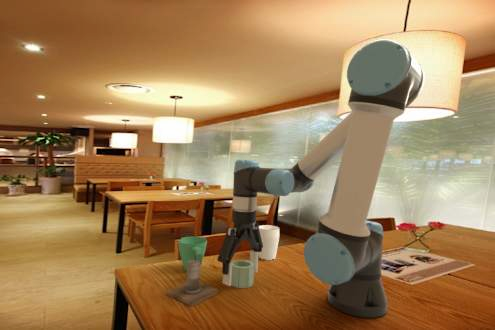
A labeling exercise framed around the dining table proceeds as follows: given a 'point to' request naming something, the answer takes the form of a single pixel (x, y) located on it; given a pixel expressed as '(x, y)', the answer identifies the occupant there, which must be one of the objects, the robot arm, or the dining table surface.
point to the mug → (192, 249)
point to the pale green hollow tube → (242, 273)
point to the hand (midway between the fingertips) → (240, 277)
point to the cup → (269, 241)
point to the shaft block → (192, 287)
